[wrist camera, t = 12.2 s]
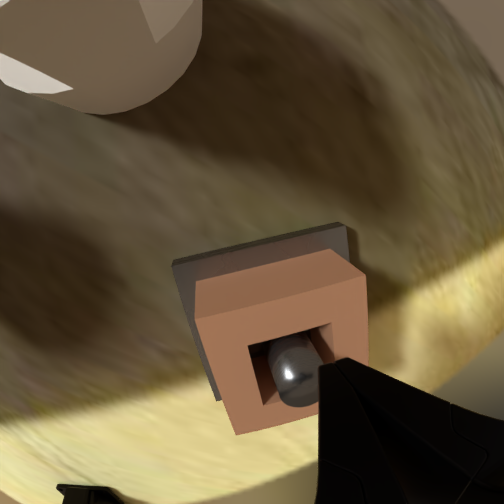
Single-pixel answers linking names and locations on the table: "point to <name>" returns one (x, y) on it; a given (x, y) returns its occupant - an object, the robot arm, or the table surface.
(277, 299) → the collar
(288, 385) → the grey base with peg
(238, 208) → the table surface
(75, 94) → the cylinder with rectangular tab
